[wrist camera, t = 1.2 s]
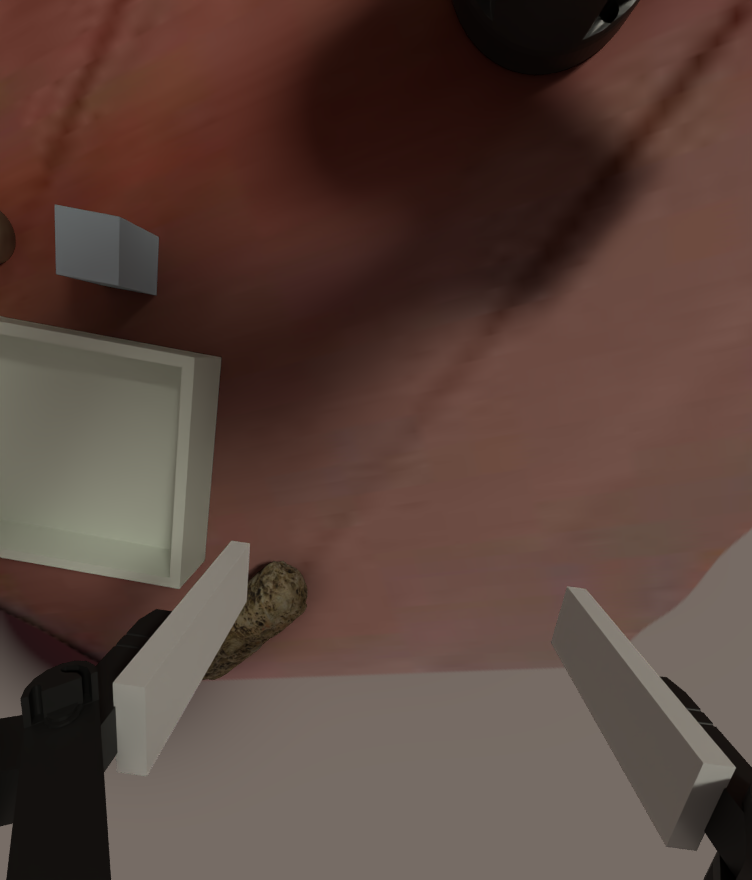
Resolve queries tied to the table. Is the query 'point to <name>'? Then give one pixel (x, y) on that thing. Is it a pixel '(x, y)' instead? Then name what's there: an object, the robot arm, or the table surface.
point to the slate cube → (105, 250)
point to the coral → (261, 615)
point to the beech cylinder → (6, 238)
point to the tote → (105, 453)
